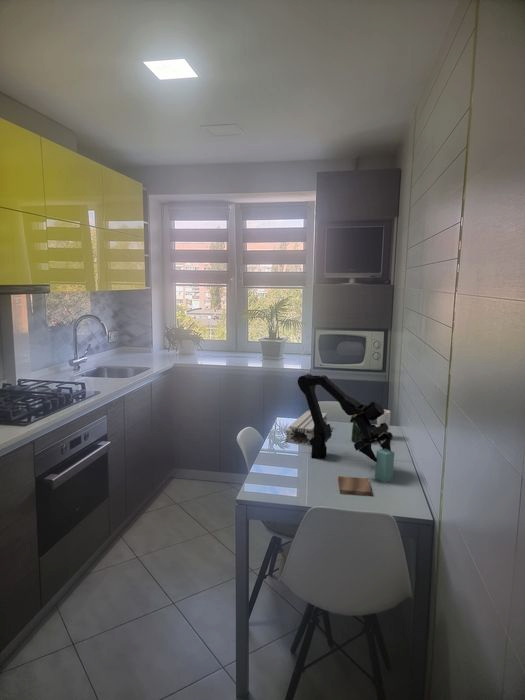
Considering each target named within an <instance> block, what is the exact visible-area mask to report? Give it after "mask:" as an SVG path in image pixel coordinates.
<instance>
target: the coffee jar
mask: <svg viewBox="0 0 525 700" xmlns="http://www.w3.org/2000/svg"><path fill="white" fill-rule="evenodd" d="M362 413H363V412H361V413H360V414H362ZM356 415H357V414H355V415H352V416H356ZM359 432H360V429H359V428H358V426H357V424H356V422H352V429H351V439H350V440H351V442H354V443H356V442H357V441H358V440H359V439H362V438H364V437H363V435H362V434H361V435H360V434H359Z"/></svg>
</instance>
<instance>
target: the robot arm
mask: <svg viewBox="0 0 525 700" xmlns="http://www.w3.org/2000/svg"><path fill="white" fill-rule="evenodd" d="M297 385H298V387H299V390H300V391H301V392H302V393H303V395H304V396H305V399H306V402H307V406H308V409H309V411H310V412H311V416H312V419H313V422H314V437H313V438H312V439H311V440H309V442H310V445H312V446H311V451H310V452H311V454H310V455H311V458H312V459H323V460H325V459H326V457H327V448H328V447H327V445H326V443H327V442H328V441H329V440H330V439H331V437H332V432H333V431H332V429H331V424H330V423H327V424H326V423H325V422H324V420H323V416H322V413H323V412H322V410H321V407H320V404H319V401H318V398H317V394H316V387H317V386H321V388H323V389H324V390H325V391H326V393H328V394H329V395H331V397H332V398H334V399H335V400H336V401H337V402H338V404H339V406H340V408H341V410H343V412H344V413H345V414H346V415H347V416H351V417H350V419H349V420H350V423H353V422H356V424H357V426H358V428H359V429H360V432H359V434H360V435H361V434H362V435H363V437H364V438H362V439H359V440H358V441H357V442H354V444H353V447H354V449H355V452H357V451H358V452H360V453H362V454H363V455H365V456H366V457H368V459H369V458H370V460H372V461H373V462H375V463H376V462H377V459H376V455H375V453H374V451H373V449H372V444H375V443H379V446H380V447H381V449H388V450H390V451H392V449H391V448H392V447H391V441H392V440H393V438H394V436H393V433H392V432H390V431H389V430H388V426H387V424H386V423H382V424H380V426H379V427H377V425H376V424H372V421H373V422H374V421H377V418H379V417H380V416H381V415H383V414H384V410H385V409H384V408H383V406H382V405H380V404H379V403H378V402H376V401H375V400H373V401H371V402H370V403H369V404H368V405H365V404H363V403H361V402H360V401H358V400H357V399H355V398H354V397H352V396H350V395H347V393H345V392H343V391H342V390H341V388H339V387H338V386H337V385H336V384H335V383H334V382H333V381H332V380H330V378H328V376H326V375H324V374H323V375H318V374H317V375H314V374H311V373H307V374H303V375H301V376H299V378H298V379H297ZM361 412H363V413H362V414H360V413H361ZM355 414H357V415H356V416H353V415H355ZM387 430H388V432H387ZM381 434H382V435H381ZM380 435H381V436H380Z"/></svg>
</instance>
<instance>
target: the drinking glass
mask: <svg viewBox="0 0 525 700" xmlns="http://www.w3.org/2000/svg"><path fill="white" fill-rule="evenodd" d="M382 423H386V424H387V426H388V430H387V432H389V429H390V423H391V410H388V409H384V414H383V415H381V416H380V417H379V418H377V419H376V427H379V426H380V424H382ZM381 435H382V434H381ZM381 435H380V436H381Z"/></svg>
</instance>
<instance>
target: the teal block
mask: <svg viewBox="0 0 525 700" xmlns="http://www.w3.org/2000/svg"><path fill="white" fill-rule="evenodd" d="M375 454H376V455H375V457H376V459H377V462H375V470H374V471H375V474H374V478H375V479H376V480H378V481H380V482H382V483H387V482H390V481H393V476H394V464H395V451H392V450H391V451H390V450H388V449H382V448H380V449H378V450H376V453H375Z"/></svg>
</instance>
